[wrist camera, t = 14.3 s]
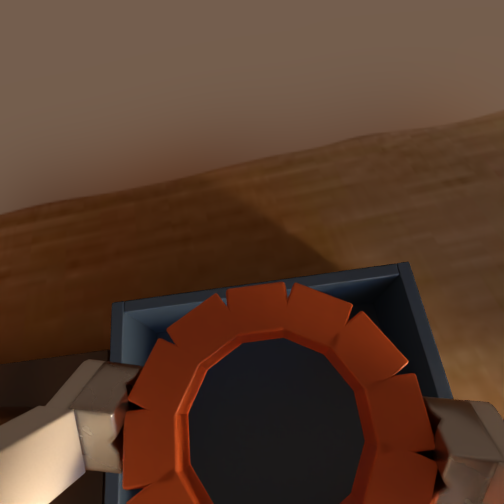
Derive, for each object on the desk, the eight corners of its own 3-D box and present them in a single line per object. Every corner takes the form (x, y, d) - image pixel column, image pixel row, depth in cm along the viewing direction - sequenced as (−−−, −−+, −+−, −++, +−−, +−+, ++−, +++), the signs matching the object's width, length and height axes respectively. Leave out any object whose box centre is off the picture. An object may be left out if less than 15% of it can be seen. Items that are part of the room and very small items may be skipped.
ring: (373, 282, 10) (385, 266, 9) (455, 582, 7) (487, 613, 6) (141, 313, 10) (125, 301, 9) (140, 622, 7) (116, 660, 6)
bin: (378, 295, 22) (409, 261, 17) (442, 527, 17) (513, 579, 12) (150, 326, 22) (111, 302, 17) (151, 564, 17) (98, 631, 12)
